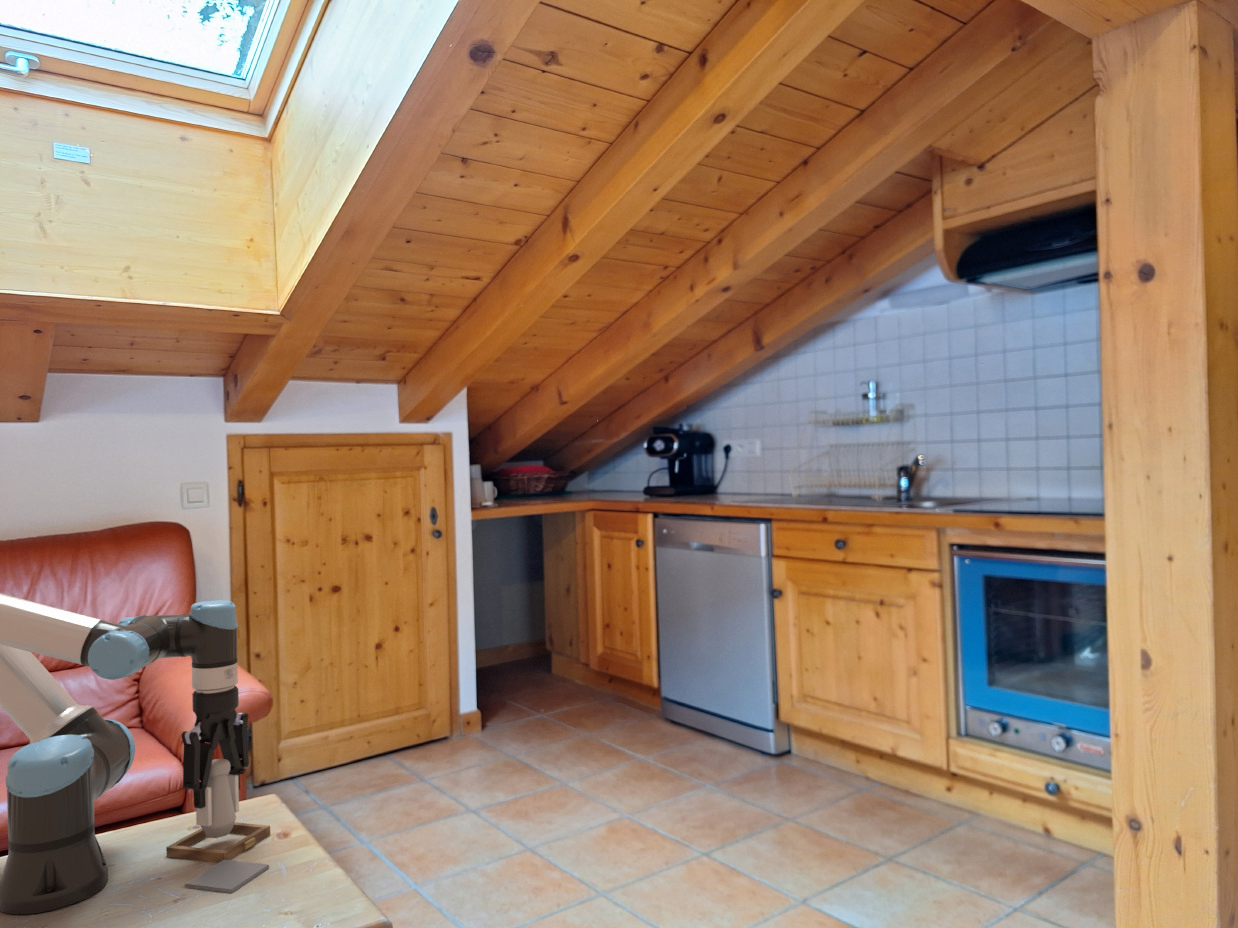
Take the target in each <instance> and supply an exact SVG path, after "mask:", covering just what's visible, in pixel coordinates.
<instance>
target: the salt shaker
mask: <svg viewBox="0 0 1238 928" xmlns="http://www.w3.org/2000/svg"><path fill="white" fill-rule="evenodd" d="M230 767H231V765H230V762H229V761H228V760H227V759H223V758H215V759H212V764H211V769H210V774H209V780H208V785H207V787H211V804H212V825H210V826H202V825H200V827H201V828H202V829H203V830H204V832H205V834H206V836H207V837H206V838H209V839H210V838H211V839H218V838H222V837H225V836H228V835H229V834H231V833H230V832H231V831H232V828H233V825H234V823H235V822H236V819H237V816H236V812H235V810H234V805H233V800H232V795H231V790H230V786H229V781H228V776H227V774H229V772H230Z"/></svg>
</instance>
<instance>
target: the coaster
mask: <svg viewBox="0 0 1238 928" xmlns="http://www.w3.org/2000/svg"><path fill="white" fill-rule="evenodd" d="M269 868H270V865H269V864H268V863H261V862H260V863H258V862H251V861H249V862H248V861H243V860H234V859H233V860H232V859H230V860H225V859H224V860H222V861H221V862H216V864H214V865H212V866H211V867H209V868H208V869H206V870H204V871H203V872H201V873H199V874H198V875H196V876H194V877H193V878H191V879H189V880H188V881H186V882H185V883H184V888H185V889H186V888H188V889H195V890H203V891H210V892H211V891H213V892H220V893H227V894H232V893H234V892H235V891H237V890H239V889H240V888H241V887H243V886H244V885H246V884H247V883H249V882H250V881H252V880H253V879H255V878H257V877H258V876H260V875H261V874H263V873H264V872H265V871H267V870H268V869H269Z"/></svg>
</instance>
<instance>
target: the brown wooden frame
mask: <svg viewBox="0 0 1238 928" xmlns="http://www.w3.org/2000/svg"><path fill="white" fill-rule="evenodd" d="M229 834H237V835H247V836H245V837H243V838H242V839H240V840H238V841H237V842H235V843H233V844H232V845H230V846H229V847H227V848H225V849H222V850H220V849H215V848H205V847H204V848H203V847H195V846H194V845H196V844H197V843H199V842H201V841H203V840H204V839H206V838H207V836H206V834H205V832H204V830H203V829H202V827H201V828H199V829H198V830H196V831H194V832H192V833H190V834H188V835H186V836H184V837H183V838H181V839H179V840H177V841H175V842H173V843H172V844H169V845H168V846H166V847H165V848H166V850H165V851H166V857H168V858H169V857H170V858H178V859H185V860H187V859H188V860H195V861H203V862H213V863H219V862H221V861H222V860H224V859H225V860H232V859H233V858H234V857H236V856H238V855H240V854H241V853H242V852H244V851H246V850H248V849H249V848H251V847H253V846H254V845H256V844H257V843H259V842H260V841H262V840H264V839H265V838H267V837H269V836H270V835H271V825H265V824H264V825H263V824H258V823H257V824H255V823H246V822H245V823H244V822H237V821H235V823H234V825H233V828H232V831H231V832H230V833H229ZM193 846H194V847H193Z"/></svg>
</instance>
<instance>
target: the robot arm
mask: <svg viewBox="0 0 1238 928" xmlns="http://www.w3.org/2000/svg"><path fill="white" fill-rule="evenodd" d="M236 608H237V607H236V605H235V603H234V602H233V601H231V600H227V599H226V600H224V599H222V600H219V599H217V600H207V601H206V600H203V601H199V602H195V603H193V604H191V606H190V611H189V613H183V614H162V615H159V614H158V615H146V614H142V615H138V616H136V615H135V616H130V617H129V616H127V617H124V618H121V620H120V621H119V622H118V623H116V622H111V621H106V620H103V619H100V618H96V617H95V616H94V617H93V616H89V615H84V614H81V613H78V612H73V611H69V610H67V609H63V608H59V607H55V606H52V605H47V604H43V603H39V602H36V601H31V600H28V599H23V598H20V597H16V596H13V595H9V594H6V593H5V594H4V593H1V592H0V708H1V709H3V711H4V712H5V714H7V716H9V718H10V719H11V720H12V721H13V722H14V723H15V725H16V726H17V727H18V728H19V729H20V730H21V731H22V732H23V733H24V735H25V736H26V737H27V738H28V739H29V743H28V744H27V745H24V746H23V747H21V748H19V749H18V750H16V751H15V752H14V754H12V756H10V758H9V759H8V763H7V767H6V770H7V771H6V776H5V787H6V799H7V801H6V804H7V805H6V806H7V807H6V808H7V831H8V832H7V834H8V835H7V836H8V838H7V839H8V855H7V858H6V861H5V865H4V868H3V872H2V874H1V880H0V912H2V913H5V914H9V915H30V914H31V915H33V914H38V913H44V912H49V911H53V910H58V909H61V908H65V907H67V906H70V905H73V904H76V903H78V902H81V901H83V900H86V899H87V898H89V897H92V896H93V895H95V894H96V893H98V892H99V891H100V890H102V889H103V888H104V887H105V886H106V885H107V883H108V881H109V865H108V862H107V861H106V859H105V857H104V853H103V852H102V851H103V850H102V848H101V846H100V843H99V841H98V839H97V837H96V834H95V831H96V830H95V801H97V799H99V798H100V797H101V796H102V795H104V794H105V793H106V792H107V791H109V790H110V789H112V788H114V787H115V785H117V784H118V783H120V781H122V779H123V778H124V776H125V775H126V774H127V773H128V772H129V771H130V769H131V767H132V766H133V762H134V760H135V755H136V744H135V743H136V742H135V739H134V736H133V734H132V732H131V730H129V728H128V727H127V726H126V725H125V724H123V723H122V722H120V721H118V720H115V719H109V718H104V717H103V716H102V715H101V713H99V711H97V710H96V708H95V707H94V706H92V705H86V704H85V705H84V704H83V705H82V704H81V705H80V704H78V703H77V702H76V701H75V700H74V698H72V696H71V695H70V694H69V693H68V692H67V691H66V690H65V688H63V686H62V685H61V684H60V683H59V681H57V679H56V678H55V677H54V676H53V675H52V674H51V673H50V671H48V670H47V668H46V667H45V666H44V665H43V664H42V663H41V662H40V661H39V659H38V658H37V657H36V656H35V654H37V655H42V656H45V657H49V658H54V659H58V660H61V661H66V662H70V663H74V664H78V665H81V666H85V667H86V666H87V667H89V668H90V669H91V671H92V672H93V673H95V674H96V675H97V676H98V677H100V678H102V679H105V680H114V681H115V680H120V679H123V678H126V677H129V676H132V675H133V674H136V673H138V672H139V671H141V669H143V668H145V667H146V666H149V665H151V664H152V663H154V662H156V661H158V660H159V659H167V658H179V657H181V658H187V657H191V688H192V690H193V692H192V694H191V695H192V698H191V699H192V712H193V713H194V715H195V716H196V718H195V719H196V720H195V722H194V725H193V726H194V727H192V728H191V729H190V730H188V731H187V730H186V731H182V733H181V735H180V736H181V740H182V743H183V767H182V768H183V770H182V771H183V772H182V774H183V775H182V776H183V777H182V787H183V789H187V790H192V791H193V806H194V809H195V811H196V812H195V813H196V814H195V820H196V825H197V826H201V825H202V826H210V825H212V804H211V787H207V785H208V780H209V774H210V769H211V764H212V760H214V759H213V758H214V753H215V749H217V748H218V744H219V747H220V752H221V755H222V759H227V760H228V761H229V762H230V765H231V767H230V772H229V773H227V776H228V781H229V786H230V790H231V795H232V800H233V805H234V810H235V813H238V812H239V811H240V801H239V799H240V797H239V796H240V795H239V794H240V793H239V791H240V790H241V775H244V774H245V773H246V768H247V767H248V766H250V765H249V764H250V760H249V759H250V757H249V741H248V740H249V739H248V722H249V721H248V720H249V714H248V713H246V712H237V711H236V709H237V708H238V707H239V704H240V703H239V702H240V701H239V700H240V699H239V687H238V686H237V684H238V683H239V677H238V676H239V675H238V673H239V672H238V628H239V625H238V621H237V609H236Z"/></svg>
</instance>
